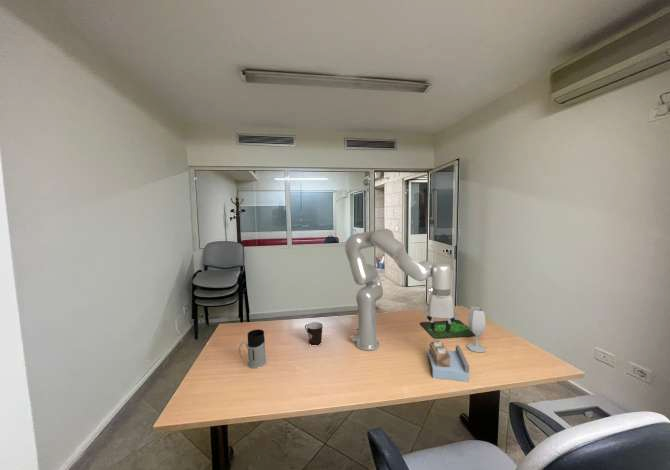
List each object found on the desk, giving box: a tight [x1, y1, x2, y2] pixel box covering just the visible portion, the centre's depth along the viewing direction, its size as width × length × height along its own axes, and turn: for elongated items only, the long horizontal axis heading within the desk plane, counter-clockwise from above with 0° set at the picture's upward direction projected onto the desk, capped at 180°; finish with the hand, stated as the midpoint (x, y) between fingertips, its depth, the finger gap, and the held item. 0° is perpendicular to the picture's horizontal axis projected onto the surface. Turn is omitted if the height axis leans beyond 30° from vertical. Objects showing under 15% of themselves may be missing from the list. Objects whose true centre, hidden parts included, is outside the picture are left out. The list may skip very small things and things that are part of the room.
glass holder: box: [238, 329, 267, 369], centre depth 123 cm, size 9×14×15 cm, turn 149°
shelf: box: [427, 344, 470, 383], centre depth 118 cm, size 14×17×7 cm
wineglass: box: [466, 306, 487, 353], centre depth 134 cm, size 9×9×21 cm
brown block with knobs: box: [429, 339, 450, 367], centre depth 119 cm, size 6×12×6 cm, turn 174°
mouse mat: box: [419, 319, 475, 340], centre depth 157 cm, size 27×22×1 cm
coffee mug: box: [304, 321, 324, 346], centre depth 145 cm, size 12×9×10 cm
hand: (440, 330), depth 118 cm, fingers open, 5 cm apart
